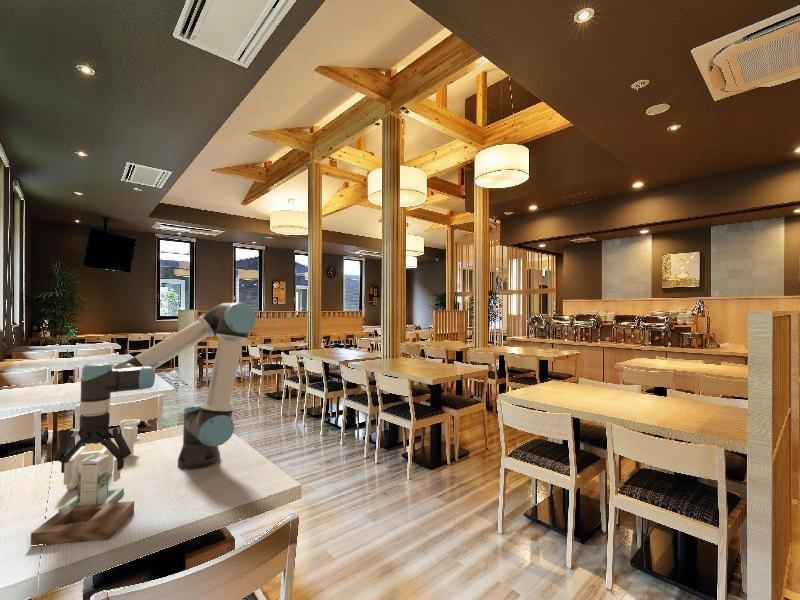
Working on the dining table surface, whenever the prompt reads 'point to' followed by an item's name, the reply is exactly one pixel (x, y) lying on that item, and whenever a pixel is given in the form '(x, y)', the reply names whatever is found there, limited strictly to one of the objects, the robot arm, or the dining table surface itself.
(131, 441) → the white upright piece
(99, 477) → the syrup box
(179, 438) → the dining table surface
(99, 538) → the socket board
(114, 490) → the green square frame
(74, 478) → the cable organizer
